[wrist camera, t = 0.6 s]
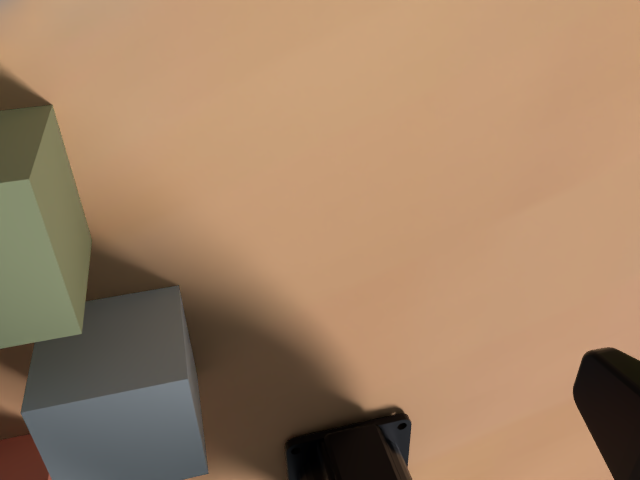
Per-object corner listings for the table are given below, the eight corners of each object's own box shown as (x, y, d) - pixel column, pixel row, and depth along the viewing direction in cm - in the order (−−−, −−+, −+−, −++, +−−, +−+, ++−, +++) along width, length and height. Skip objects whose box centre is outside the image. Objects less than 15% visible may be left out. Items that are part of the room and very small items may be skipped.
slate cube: (197, 374, 26) (208, 473, 22) (76, 398, 25) (64, 507, 21) (178, 284, 23) (187, 378, 19) (41, 307, 22) (20, 412, 18)
